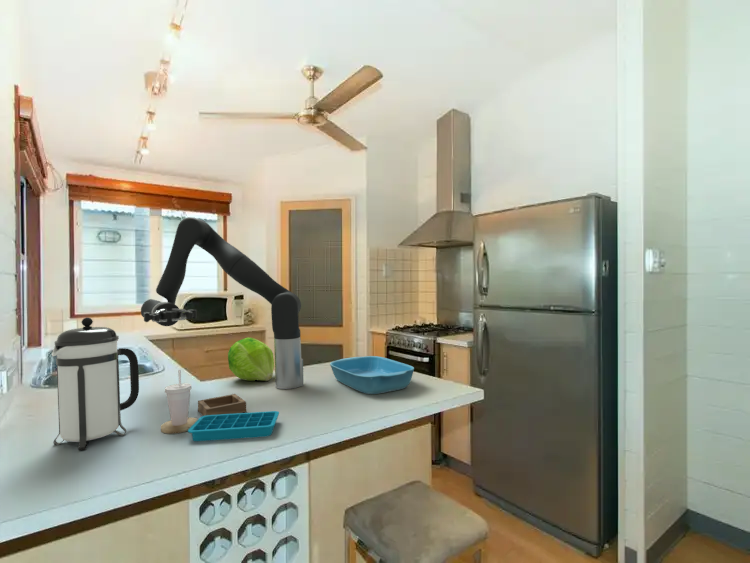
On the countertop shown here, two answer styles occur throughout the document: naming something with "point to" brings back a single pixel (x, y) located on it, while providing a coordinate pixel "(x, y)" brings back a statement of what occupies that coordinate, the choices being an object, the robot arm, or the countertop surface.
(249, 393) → the countertop surface
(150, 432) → the countertop surface
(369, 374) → the casserole dish
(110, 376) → the coffee press
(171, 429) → the trivet
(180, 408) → the smoothie
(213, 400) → the square wooden frame
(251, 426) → the ice cube tray
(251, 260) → the robot arm
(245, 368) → the lettuce
